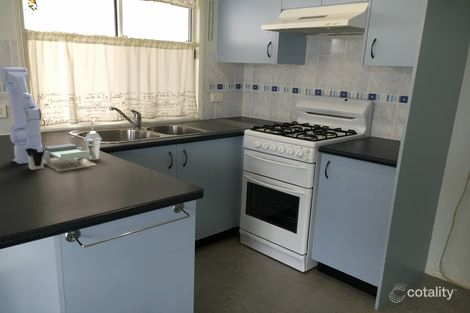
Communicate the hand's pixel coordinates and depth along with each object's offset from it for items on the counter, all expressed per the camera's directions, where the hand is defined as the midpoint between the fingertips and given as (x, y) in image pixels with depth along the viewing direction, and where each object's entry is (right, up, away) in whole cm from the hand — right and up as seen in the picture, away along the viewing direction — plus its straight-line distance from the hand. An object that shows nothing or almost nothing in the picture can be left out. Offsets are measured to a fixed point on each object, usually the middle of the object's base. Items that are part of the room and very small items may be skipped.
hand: (36, 164), depth 172 cm
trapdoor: (+10, +3, +9) cm, 14 cm away
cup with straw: (+18, +3, +21) cm, 28 cm away
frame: (+10, 0, +10) cm, 14 cm away
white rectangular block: (0, -1, 0) cm, 1 cm away
